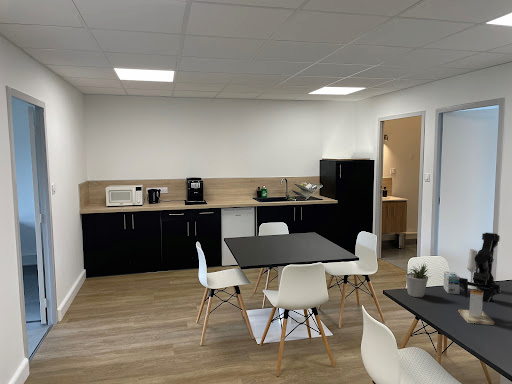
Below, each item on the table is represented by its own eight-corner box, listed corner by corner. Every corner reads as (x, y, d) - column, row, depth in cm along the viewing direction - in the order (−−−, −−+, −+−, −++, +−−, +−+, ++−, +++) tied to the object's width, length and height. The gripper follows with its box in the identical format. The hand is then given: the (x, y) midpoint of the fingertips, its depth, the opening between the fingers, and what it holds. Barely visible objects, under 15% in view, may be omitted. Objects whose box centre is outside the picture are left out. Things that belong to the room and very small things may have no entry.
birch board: (482, 313, 205) (482, 310, 205) (494, 324, 192) (494, 321, 191) (458, 312, 207) (458, 309, 207) (468, 323, 193) (468, 320, 193)
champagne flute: (479, 289, 245) (481, 251, 242) (468, 288, 245) (470, 251, 243) (473, 285, 251) (475, 248, 249) (462, 285, 251) (465, 248, 249)
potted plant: (419, 300, 223) (421, 266, 221) (400, 293, 235) (401, 261, 233) (433, 297, 230) (435, 263, 228) (413, 290, 241) (415, 258, 240)
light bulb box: (459, 294, 235) (460, 276, 234) (447, 293, 236) (448, 276, 235) (454, 288, 245) (455, 271, 244) (442, 287, 246) (443, 271, 245)
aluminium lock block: (470, 313, 202) (472, 288, 201) (481, 315, 199) (483, 290, 198) (468, 316, 198) (470, 291, 197) (480, 318, 195) (481, 293, 194)
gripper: (460, 262, 207) (454, 288, 199) (501, 269, 195) (497, 296, 188) (462, 273, 214) (457, 298, 206) (502, 280, 202) (498, 307, 195)
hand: (476, 300), depth 199 cm, fingers open, 9 cm apart
